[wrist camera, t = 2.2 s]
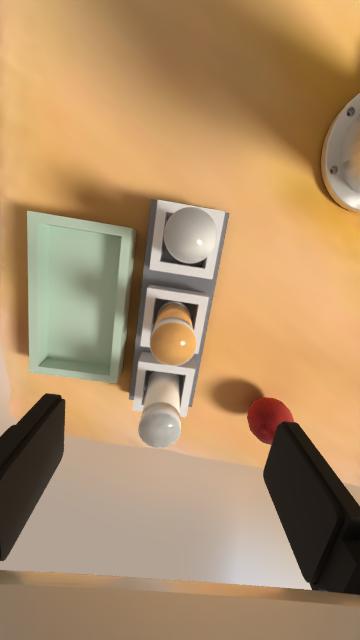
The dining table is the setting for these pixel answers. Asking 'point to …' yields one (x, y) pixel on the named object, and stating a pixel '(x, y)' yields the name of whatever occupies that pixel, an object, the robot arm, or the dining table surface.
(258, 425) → the onion
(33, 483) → the robot arm
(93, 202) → the dining table surface
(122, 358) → the tray
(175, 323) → the marked fuse
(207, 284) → the fuse holder
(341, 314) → the dining table surface
